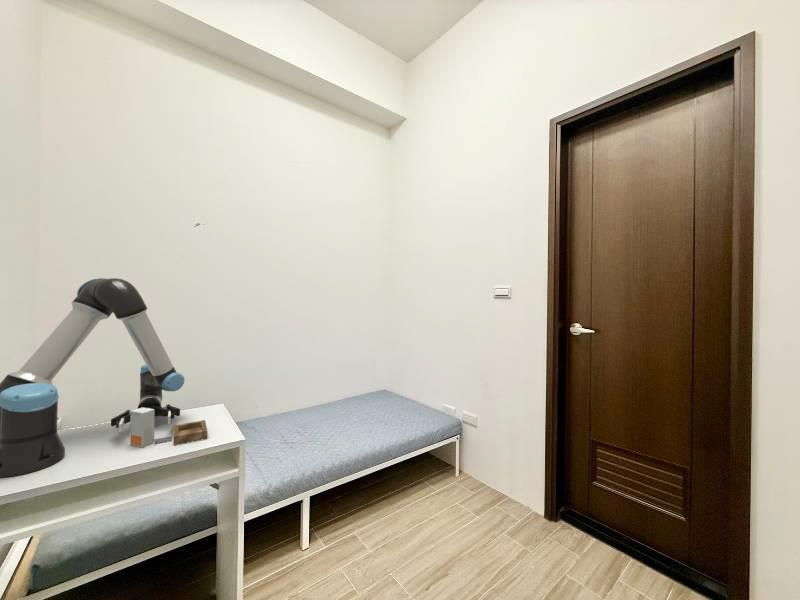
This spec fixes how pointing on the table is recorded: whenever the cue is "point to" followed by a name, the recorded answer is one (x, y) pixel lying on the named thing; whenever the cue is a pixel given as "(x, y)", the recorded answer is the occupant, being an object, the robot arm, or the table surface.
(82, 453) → the table surface
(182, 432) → the socket block
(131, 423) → the skincare box
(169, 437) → the flat gray slab
